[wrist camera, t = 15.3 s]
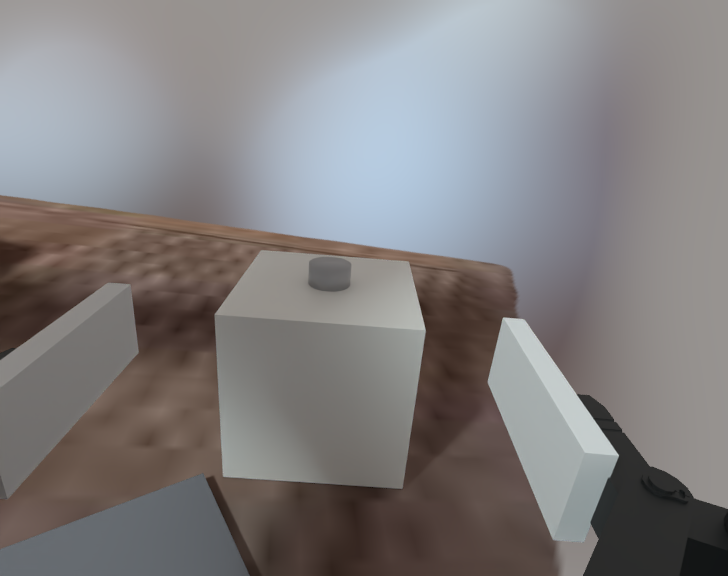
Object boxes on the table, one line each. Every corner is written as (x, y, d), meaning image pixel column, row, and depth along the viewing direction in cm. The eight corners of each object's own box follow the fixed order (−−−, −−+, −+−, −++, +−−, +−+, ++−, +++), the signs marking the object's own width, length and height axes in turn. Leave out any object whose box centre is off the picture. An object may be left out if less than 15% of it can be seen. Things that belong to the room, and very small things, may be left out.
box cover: (223, 476, 25) (213, 291, 21) (262, 375, 34) (261, 232, 30) (402, 488, 25) (429, 307, 21) (393, 385, 35) (410, 244, 30)
